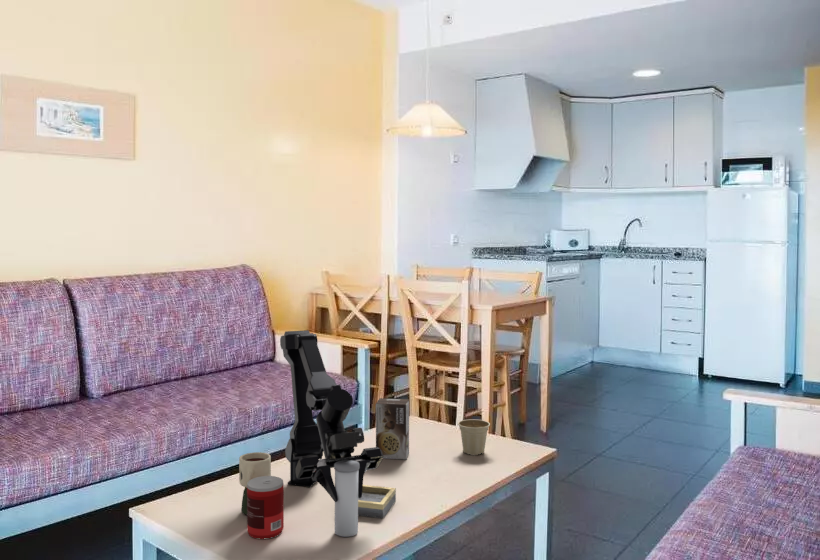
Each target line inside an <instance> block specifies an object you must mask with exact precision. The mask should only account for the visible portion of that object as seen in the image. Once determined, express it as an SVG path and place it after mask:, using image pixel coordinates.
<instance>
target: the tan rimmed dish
mask: <svg viewBox="0 0 820 560" xmlns="http://www.w3.org/2000/svg"><path fill="white" fill-rule="evenodd" d="M396 491H397V488H396V487H390V486H389V487H388V486H387V487H385V486H378V485H370V484H363V488H362V497H361V498H359V497H358V517H360V516H361V517H367V518H377V519H384V518H385V517H386V515H387V513H388V512H389V511H390V509H391V508H392V507H393V506H394V504H395V503H396V501H397V500H396V499H397V497H396V496H397V492H396Z"/></svg>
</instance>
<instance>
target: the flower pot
mask: <svg viewBox="0 0 820 560" xmlns="http://www.w3.org/2000/svg"><path fill="white" fill-rule="evenodd" d="M457 425H458V426H459V430H460V436H461V443H462V444H461V445H462V452H463V453H464V454H467V455H469V454H471V455H470V456H478V454H479V455H480V454H481V453H482V455H483V454H484V453H485V448H486V443H487V442H486V441H487V435H488V434H487V433H488V431H489V427H490V426H491V423H490V422H489V421H486V420H483V419H477V418H476V419H473V418H472V419H464V420H463V419H462V420H460V421H458V422H457Z"/></svg>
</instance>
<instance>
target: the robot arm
mask: <svg viewBox="0 0 820 560" xmlns="http://www.w3.org/2000/svg"><path fill="white" fill-rule="evenodd" d="M279 340H280V341H279V343H280V348H281V350H282V352H283V354H282V355H283V357H284V359H285V361H286V362H287V363H288V364H289V365H290V374H291V375H290V376H291V377H290V378H291V386H292V399H293V411H294V413H293V414H294V423H293V425H292V427H291V429H290V432H289V439H288V441H287V444H286V447H285V450H284V451H285V452H284V453H285V459H286V460H287V461H288V462H289V463H290V464H289V465H290V466H289V467H290V469H289V470H290V473H289V474H290V475H289V477H290V478H289V481H288V482H287V485H289V486H290V485H291V486H297V487H298V486H299V487H309V488H310V487H313V486H314V485H315V484H316V483H317V484H319V485H320V486H321V487H322V488H323V489H324V491H326V493H327V494H328V495H329V496H330V498H331V499H332V500H333V501H334V503H335V502H337V501H338V498H337V492H336V489H335V482H334V479H333V476H332V469H334V464H335V463H336V462H338V461H342V460H353V461H357V462H358V463H359V464H360V467H359V473H358V497H359V498H361V497H362V488H363V485H364V476H365V474H366V472H367V471H369V470H375V469H377V468H378V467H379V466H380V464H381V462H382V460H383V459H384V458H383V453H382V450H381V449H380V448H378V447H376V446H375V447H368V448H367V447H366V448H363V450H362V452H361V453H360V454H357V455H352V454H353V453H354V452H355V448H357V447H358V444H361V443H364V442H365V435H364V430H363V427H356V428H353V429H352V430H351V432H350V431H349V432H348V430H346V429H345V425H344V421H346V419H347V417H348V414H349V412H350V410H351V408H352V405H353V403H354V398H353V395H351V393H349V391H347V390H345V389H343V388H342V386H341V384H338V383H337V382H336V380H335V378H333V377H331V376H330V375H329V374H328V373H327V370H326V367H325V364H324V362H323V357H322V355H321V351H320V349H319V346H318V345H319V344H318V335H317V333H313V332H310V330H308V329H307V330H286V331H285V332H284V335H280V339H279ZM313 411H315V412H316V411H320V412H319V413H317V415H316V417H315V419H316V421H315V420H314V417H313V416H314V414H313ZM323 456H324V458H323Z"/></svg>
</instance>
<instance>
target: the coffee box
mask: <svg viewBox="0 0 820 560" xmlns="http://www.w3.org/2000/svg"><path fill="white" fill-rule="evenodd" d="M375 447H378V448H380V449H381V450H382V453H383V459H388V460H389V459H392V460H407V459H408V457H409V455H410V398H409V399H407V398H385V397H384V398H383V397H382V398H381V397H380V398H379V399H378V400H377V401H376V403H375Z"/></svg>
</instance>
